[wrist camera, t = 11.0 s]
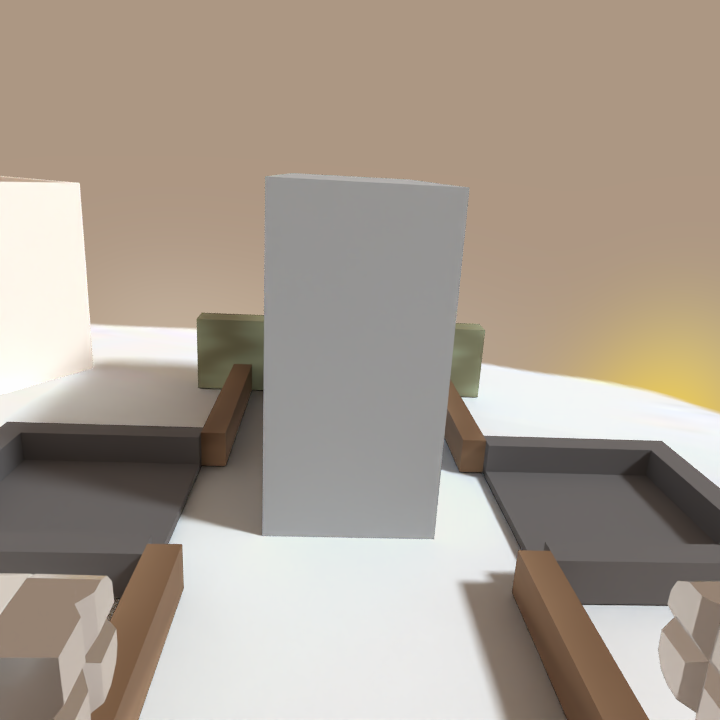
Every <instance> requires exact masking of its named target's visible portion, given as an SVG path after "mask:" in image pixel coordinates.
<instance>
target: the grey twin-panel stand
mask: <svg viewBox="0 0 720 720" xmlns="http://www.w3.org/2000/svg"><path fill="white" fill-rule="evenodd" d="M89 369H93V355H92V342H91V328H90V315H89V302H88V288H87V276H86V261H85V248H84V235H83V223H82V208H81V195H80V183H75V182H63V181H52V180H40V179H29V178H17V177H6V176H0V395H3V394H6V393H9V392H13V391H16V390H20V389H23V388H27V387H30V386H34V385H37V384H41V383H44V382H48V381H51V380H54V379H58V378H61V377H65V376H68V375H72V374H75V373H79V372H82V371H86V370H89Z"/></svg>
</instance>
